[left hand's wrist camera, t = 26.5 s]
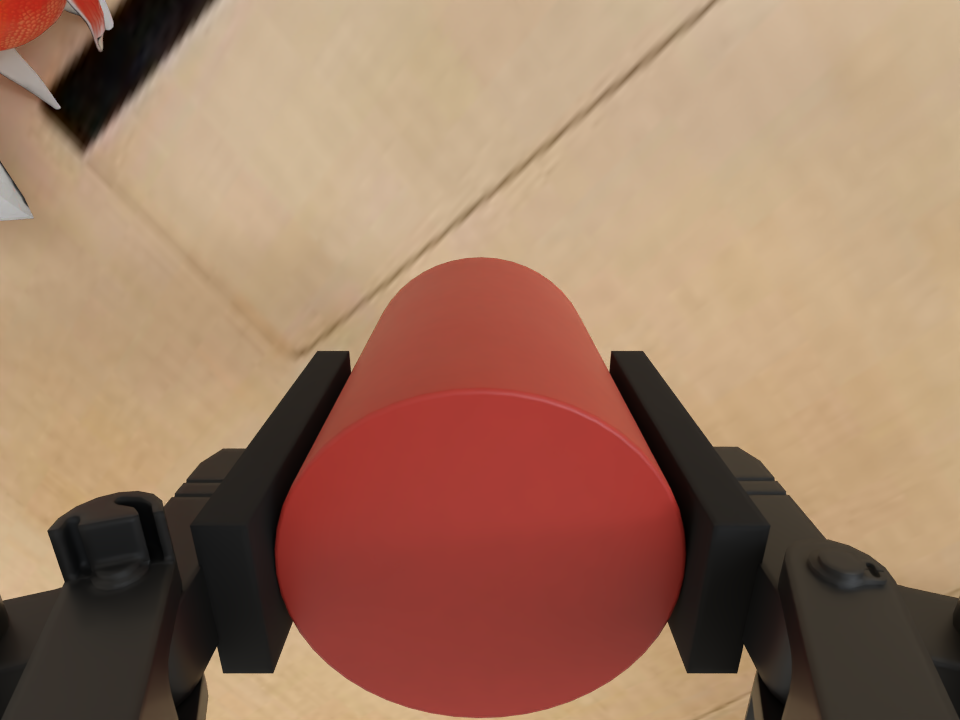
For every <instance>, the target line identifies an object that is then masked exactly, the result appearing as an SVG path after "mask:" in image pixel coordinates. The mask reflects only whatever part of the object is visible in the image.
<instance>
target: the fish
mask: <svg viewBox="0 0 960 720" xmlns="http://www.w3.org/2000/svg"><path fill="white" fill-rule="evenodd" d="M63 10H65V11H68V12H70V13H73V14H76V15H79V16H81V17H82V19H83V20H84V21H85V22H86V23H87V25H88V27H89V29H90V31H91V33H92V36H93V38H94V41H95V44H96V47H97V49H98V51H99V52H102V49H103V33H104V31H105V30H110V29H112V27H113V24H114V23H113V20H112V16H111V14H110V11H109V9H108V6H107V4H106V1H105V0H0V74H2V75H4V76H5V77H7V78H9V79H10V80H12V81H14V82H15V83H17V84H19V85H20V86H22V87H23V88H25V89H27V90H28V91H30V92H31V93H33V94H34V95H36V96H37V97H39V98H40V99H42V100H43V101H45V102H46V103H47V104H49V105H50V106H52V107H53V108H55V109H60V108H61V107H60V106H59V104H58V103H57V101H56V100H55V99H54V97H53V96H52V94H51V93H50V91H49V90H48V88H47V87H46V85H45V84H44V82H43V81H42V80H41V79H40V77H39V76H38V75H37V73H36V72H35V71H34V70H33V69H32V68H31V67H30V66H29V65H28V63H27V62H26V61H25V60H24V59H23V58H22V57H21V56H20V55H19V53H18V52H17V51H16V50H15V47H18V46H21V45H24V44H26V43H27V42H29V41H31V40H33V39H35V38H36V37H38V36H39V35H41V34H42V33H43V32H44V31H45V30H47V29H48V28H49V27H50V26H51V25H53V24H54V23H55V22H56V21H57V19H58V18H59V17H60V16H61V14H62V12H63ZM31 218H34V217H33V215H32V213H31V211H30V209H29V207H28V205H27V203H26V200H25V198H24V197H23V195H22V194H21V192H20V191H19V189H18V188H17V186H16V184H15V183H14V181H13V180H12V178H11V177H10V175H9V174H8V172H7V171H6V169H5V168H4V166H3V165H2V163H1V162H0V221H4V220H17V219H31Z"/></svg>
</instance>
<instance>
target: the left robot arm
mask: <svg viewBox="0 0 960 720" xmlns="http://www.w3.org/2000/svg"><path fill="white" fill-rule="evenodd" d="M609 373H610V375H611V377H612V379H613V381H614V382H615V384H616V386H617V388H618V390H619V392H620V394H621V396H622V397H623V399H624V401H625V403H626V405H627V407H628V409H629V411H630V413H631V414H632V416H633V418H634V420H635V422H636V424H637V426H638V428H639V430H640V431H641V433H642V435H643V437H644V439H645V441H646V443H647V445H648V447H649V448H650V450H651V452H652V454H653V456H654V458H655V460H656V462H657V463H658V465H659V467H660V469H661V471H662V473H663V475H664V477H665V479H666V480H667V482H668V484H669V486H670V488H671V490H672V493H673V495H674V497H675V500H676V502H677V505H678V507H679V509H680V513H681V517H682V522H683V526H684V530H685V541H686V561H685V571H684V579H683V583H682V586H681V590H680V594H679V598H678V600H677V603H676V605H675V607H674V609H673V612H672V614H671V616H670V618H669V620H668V624H669V627H670V629H671V632H672V635H673V637H674V640H675V642H676V645H677V648H678V650H679V653H680V656H681V658H682V661H683V663H684V666H685V669H686V671H687V673H737V672H738V667H739V663H740V658H741V654H742V650H743V645H745V647H746V649H747V651H748V653H749V655H750V657H751V659H752V661H753V663H754V665H755V667H756V669H757V671H756V675H755V679H754V683H753V687H752V691H751V695H750V700H749V704H748V708H747V712H746V716H745V720H960V597H959V598H954V597H950V596H945V595H940V594H936V593H931V592H926V591H922V590H917V589H912V588H908V587H904V586H901V585H897V584H896V581H895V580H894V579H893V577H892V576H891V575H890V573H889V572H888V571H887V569H886V568H885V567H884V566H882V565H881V564H880V563H878V562H877V561H876V560H874V559H873V558H872V557H871V556H869V555H867V554H865V553H863V552H861V551H859V550H857V549H855V548H853V547H851V546H849V545H845V544H842V543H838V542H835V541H831V540H827V539H826V538H825V537H824V536H823V535H822V534H821V532H820V531H819V530H818V529H817V528H816V527H815V525H814V524H813V523H812V522H811V521H810V519H809V518H808V517H807V516H806V515H805V513H804V512H803V511H802V510H801V509H800V508H799V506H798V505H797V504H796V503H795V502H794V500H793V499H792V498H791V497H790V496H789V495H786V491H785V490H784V489H783V487H782V486H781V485H780V484H779V483H778V481H775V480H774V477H773V476H772V474H771V473H770V472H769V471H768V470H767V468H766V467H765V466H764V465H763V464H762V463H761V461H759V460H758V459H756V458H755V457H753V456H751V455H750V454H748V453H747V452H745V451H743V450H742V449H740V448H739V447H713V446H712V445H711V443H710V442H709V441H708V439H707V438H706V437H705V435H704V434H703V432H702V431H701V430H700V428H699V427H698V426H697V424H696V423H695V422H694V420H693V419H692V417H691V416H690V415H689V413H688V412H687V411H686V409H685V408H684V407H683V405H682V404H681V402H680V401H679V400H678V398H677V397H676V396H675V394H674V393H673V391H672V390H671V389H670V387H669V386H668V385H667V383H666V382H665V381H664V379H663V378H662V376H661V375H660V374H659V372H658V371H657V370H656V368H655V367H654V366H653V364H652V363H651V361H650V360H649V359H648V357H647V356H646V355H645V353H644V352H643V351H611V360H610V372H609ZM350 374H351V367H350V356H349V351H317V352H316V354H315V355H314V357H313V358H312V359H311V361H310V362H309V363H308V365H307V366H306V367H305V369H304V370H303V372H302V373H301V374H300V376H299V377H298V378H297V380H296V381H295V383H294V384H293V385H292V387H291V388H290V389H289V391H288V392H287V393H286V395H285V396H284V398H283V399H282V400H281V402H280V403H279V404H278V406H277V407H276V408H275V410H274V411H273V413H272V414H271V415H270V417H269V418H268V419H267V421H266V422H265V423H264V425H263V426H262V428H261V429H260V430H259V432H258V433H257V434H256V436H255V437H254V438H253V440H252V441H251V443H250V444H249V445H248V447H247V448H246V449H222V450H220V451H219V452H217V453H216V454H214V455H212V456H211V457H209V458H208V459H206V460H204V461H203V462H201V463H200V464H199V465H198V467H197V468H196V469H195V470H194V471H193V473H192V474H191V475H190V476H189V477H188V479H187V482H186V483H183V485H182V486H181V487H180V488H179V489H178V491H177V492H176V493H175V497H172V498H171V499H170V500H169V501H168V502H167V504H166V505H165V506H164V507H163V503H162V500H160V499H159V498H158V497H157V496H155V495H154V494H151V493H146V492H140V491H132V492H118V493H114V494H110V495H106V496H102V497H98V498H95V499H93V500H91V501H88V502H86V503H84V504H81V505H79V506H77V507H75V508H73V509H72V510H70V511H69V512H67V513H66V514H64V515H63V516H61V517H60V518H58V519H57V521H56V522H55V523H54V524H53V525H52V526H51V527H50V528H49V530H48V534H49V537H50V540H51V543H52V546H53V549H54V552H55V555H56V558H57V561H58V564H59V566H60V569H61V572H62V575H63V578H64V581H65V583H64V585H63V587H62V588H58V589H55V590H50V591H46V592H41V593H37V594H32V595H27V596H23V597H18V598H13V599H9V600H4V601H2V598H1V596H0V720H206V712H207V703H208V690H207V683H206V679H205V675H204V671H205V669H206V667H207V665H208V663H209V661H210V659H211V657H212V655H213V653H214V651H215V649H216V647H217V648H218V652H219V657H220V661H221V665H222V670H223V673H273V672H274V670H275V667H276V665H277V662H278V659H279V657H280V654H281V651H282V649H283V646H284V643H285V641H286V638H287V636H288V633H289V630H290V628H291V625H292V622H293V620H292V618H291V617H290V615H289V613H288V610H287V608H286V605H285V603H284V600H283V598H282V595H281V592H280V588H279V583H278V579H277V575H276V565H275V551H274V548H275V538H276V528H277V524H278V520H279V516H280V513H281V509H282V505H283V503H284V501H285V499H286V497H287V495H288V492H289V490H290V488H291V486H292V484H293V482H294V480H295V478H296V476H297V474H298V472H299V470H300V469H301V467H302V465H303V463H304V461H305V459H306V457H307V455H308V453H309V452H310V450H311V448H312V446H313V444H314V442H315V440H316V438H317V436H318V435H319V433H320V431H321V429H322V427H323V425H324V423H325V421H326V419H327V418H328V416H329V414H330V412H331V410H332V408H333V406H334V404H335V403H336V401H337V399H338V397H339V395H340V393H341V391H342V389H343V387H344V386H345V384H346V382H347V380H348V378H349V376H350Z"/></svg>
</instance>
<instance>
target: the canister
mask: <svg viewBox="0 0 960 720" xmlns="http://www.w3.org/2000/svg"><path fill="white" fill-rule="evenodd" d="M274 551H275V565H276V575H277V579H278V583H279V588H280V592H281V595H282V598H283V600H284V603H285V605H286V608H287V610H288V613H289V615H290V617H291V618H292V620H293V622H294V623H295V625H296V627H297V629H298V630H299V632H300V633H301V635H302V636H303V637H304V638H305V640H306V641H307V642H308V644H309V645H310V646H311V647H312V649H313V650H314V651H315V652H316V653H317V654H318V655H319V656H320V657H321V658H322V659H323V660H324V661H325V662H326V663H327V664H328V665H330V666H331V667H332V668H334V669H335V670H336V671H337V672H339V673H340V674H341V675H343V676H344V677H345V678H347V679H348V680H350V681H351V682H353V683H355V684H356V685H358V686H360V687H361V688H363V689H365V690H366V691H369V692H371V693H373V694H375V695H377V696H379V697H381V698H384V699H386V700H388V701H391V702H394V703H397V704H400V705H402V706H405V707H408V708H412V709H416V710H420V711H424V712H428V713H433V714H440V715H447V716H453V717H469V718H491V717H506V716H514V715H522V714H528V713H532V712H536V711H541V710H545V709H549V708H552V707H555V706H558V705H561V704H564V703H567V702H570V701H572V700H575V699H577V698H579V697H581V696H584V695H586V694H588V693H590V692H592V691H594V690H596V689H597V688H599V687H601V686H603V685H604V684H606V683H608V682H610V681H611V680H613V679H614V678H615V677H617V676H618V675H619V674H621V673H622V672H623V671H625V670H626V669H628V668H629V667H630V666H631V665H632V664H633V663H634V662H635V661H636V660H637V659H638V658H639V657H641V656H642V655H643V654H644V653H645V652H646V650H647V649H648V648H649V647H650V646H651V644H652V643H653V642H654V641H655V640H656V638H657V637H658V636H659V634H660V633H661V631H662V630H663V628H664V626H665V625H666V623H667V622H668V620H669V618H670V616H671V614H672V612H673V609H674V607H675V605H676V603H677V600H678V598H679V594H680V590H681V586H682V583H683V579H684V571H685V561H686V541H685V530H684V526H683V522H682V517H681V513H680V509H679V507H678V505H677V502H676V500H675V497H674V495H673V493H672V490H671V488H670V486H669V484H668V482H667V480H666V479H665V477H664V475H663V473H662V471H661V469H660V467H659V465H658V463H657V462H656V460H655V458H654V456H653V454H652V452H651V450H650V448H649V447H648V445H647V443H646V441H645V439H644V437H643V435H642V433H641V431H640V430H639V428H638V426H637V424H636V422H635V420H634V418H633V416H632V414H631V413H630V411H629V409H628V407H627V405H626V403H625V401H624V399H623V397H622V396H621V394H620V392H619V390H618V388H617V386H616V384H615V382H614V381H613V379H612V377H611V375H610V373H609V371H608V369H607V367H606V365H605V364H604V362H603V360H602V358H601V356H600V354H599V352H598V350H597V348H596V347H595V345H594V343H593V341H592V339H591V337H590V335H589V333H588V332H587V330H586V328H585V326H584V324H583V322H582V320H581V318H580V316H579V315H578V313H577V311H576V310H575V308H574V306H573V305H572V303H571V302H570V301H569V299H568V298H567V297H566V296H565V295H564V293H563V292H562V291H561V290H560V289H559V288H558V287H556V286H555V285H554V284H553V283H552V282H551V281H549V280H548V279H547V278H545V277H544V276H542V275H541V274H539V273H537V272H535V271H533V270H532V269H530V268H528V267H525V266H523V265H520V264H517V263H514V262H511V261H506V260H501V259H496V258H483V257H480V258H465V259H459V260H454V261H450V262H447V263H444V264H441V265H438V266H435V267H433V268H431V269H429V270H427V271H425V272H423V273H422V274H420V275H418V276H417V277H415V278H414V279H412V280H411V281H410V282H409V283H408V284H406V285H405V286H404V287H403V288H402V289H401V290H400V291H399V292H398V293H397V294H396V295H395V296H394V298H393V299H392V300H391V301H390V303H389V304H388V306H387V307H386V309H385V310H384V312H383V314H382V316H381V318H380V319H379V321H378V323H377V325H376V327H375V329H374V331H373V333H372V335H371V336H370V338H369V340H368V342H367V344H366V346H365V348H364V350H363V352H362V353H361V355H360V357H359V359H358V361H357V363H356V365H355V367H354V369H353V370H352V372H351V374H350V376H349V378H348V380H347V382H346V384H345V386H344V387H343V389H342V391H341V393H340V395H339V397H338V399H337V401H336V403H335V404H334V406H333V408H332V410H331V412H330V414H329V416H328V418H327V419H326V421H325V423H324V425H323V427H322V429H321V431H320V433H319V435H318V436H317V438H316V440H315V442H314V444H313V446H312V448H311V450H310V452H309V453H308V455H307V457H306V459H305V461H304V463H303V465H302V467H301V469H300V470H299V472H298V474H297V476H296V478H295V480H294V482H293V484H292V486H291V488H290V490H289V492H288V495H287V497H286V499H285V501H284V503H283V505H282V509H281V513H280V516H279V520H278V524H277V528H276V538H275V548H274Z"/></svg>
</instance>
